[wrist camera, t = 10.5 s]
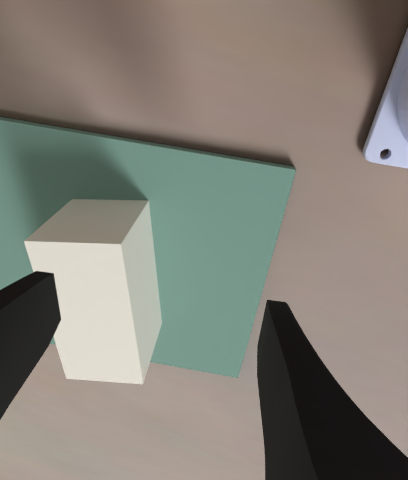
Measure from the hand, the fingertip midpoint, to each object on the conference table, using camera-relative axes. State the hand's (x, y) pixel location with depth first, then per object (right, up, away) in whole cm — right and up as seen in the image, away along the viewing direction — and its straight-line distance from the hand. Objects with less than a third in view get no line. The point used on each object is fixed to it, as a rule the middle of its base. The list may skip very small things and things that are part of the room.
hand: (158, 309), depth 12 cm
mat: (-4, +1, +11) cm, 11 cm away
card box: (-4, +1, +10) cm, 11 cm away
